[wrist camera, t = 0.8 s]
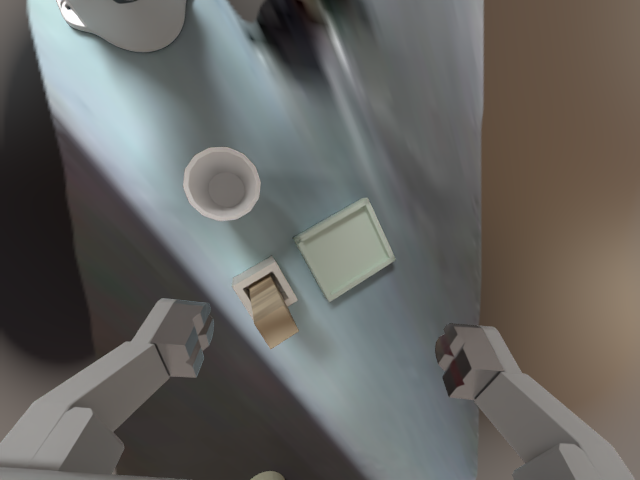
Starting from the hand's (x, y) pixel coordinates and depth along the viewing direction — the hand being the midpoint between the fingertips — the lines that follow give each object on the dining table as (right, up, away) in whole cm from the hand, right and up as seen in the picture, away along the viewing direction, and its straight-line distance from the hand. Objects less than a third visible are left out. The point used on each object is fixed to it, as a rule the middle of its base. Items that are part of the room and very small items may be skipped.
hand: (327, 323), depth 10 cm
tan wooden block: (-11, -6, +41) cm, 43 cm away
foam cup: (-16, +12, +38) cm, 43 cm away
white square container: (-11, -5, +42) cm, 44 cm away
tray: (+4, +1, +46) cm, 46 cm away
